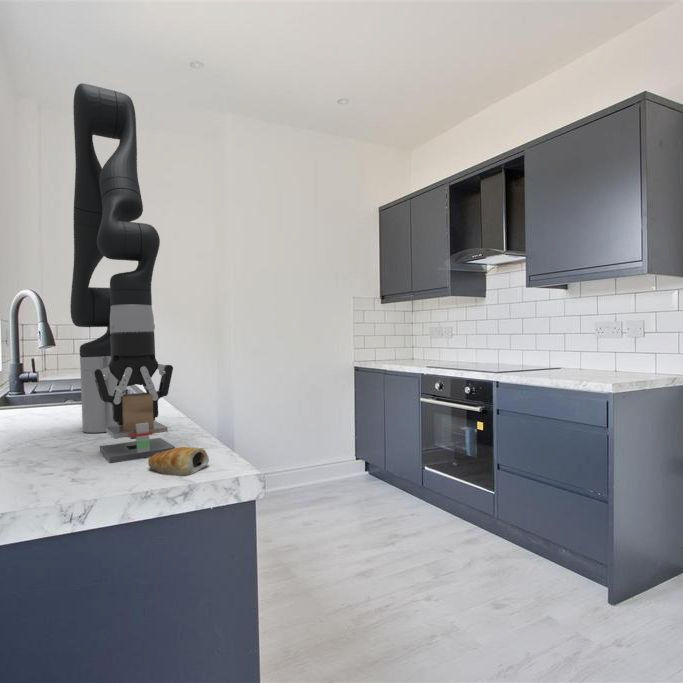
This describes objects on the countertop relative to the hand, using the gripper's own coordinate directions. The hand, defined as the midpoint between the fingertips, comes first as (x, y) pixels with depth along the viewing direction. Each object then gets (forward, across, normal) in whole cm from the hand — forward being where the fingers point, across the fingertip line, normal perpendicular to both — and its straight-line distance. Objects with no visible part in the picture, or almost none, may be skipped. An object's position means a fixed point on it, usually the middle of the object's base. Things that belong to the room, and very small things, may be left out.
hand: (136, 421), depth 91 cm
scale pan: (+3, 0, +1) cm, 3 cm away
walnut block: (+1, 0, 0) cm, 1 cm away
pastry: (+6, -3, +17) cm, 19 cm away
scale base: (+6, 0, 0) cm, 6 cm away
